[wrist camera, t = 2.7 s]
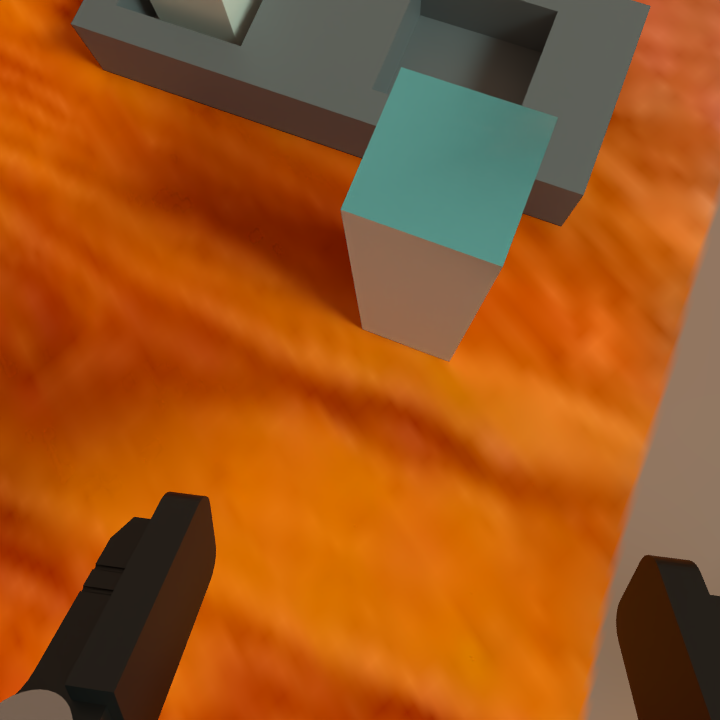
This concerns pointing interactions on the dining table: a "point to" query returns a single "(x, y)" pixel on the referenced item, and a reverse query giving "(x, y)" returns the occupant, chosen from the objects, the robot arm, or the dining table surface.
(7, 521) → the dining table surface
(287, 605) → the dining table surface
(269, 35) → the two-hole peg board
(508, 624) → the dining table surface
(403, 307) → the plug
